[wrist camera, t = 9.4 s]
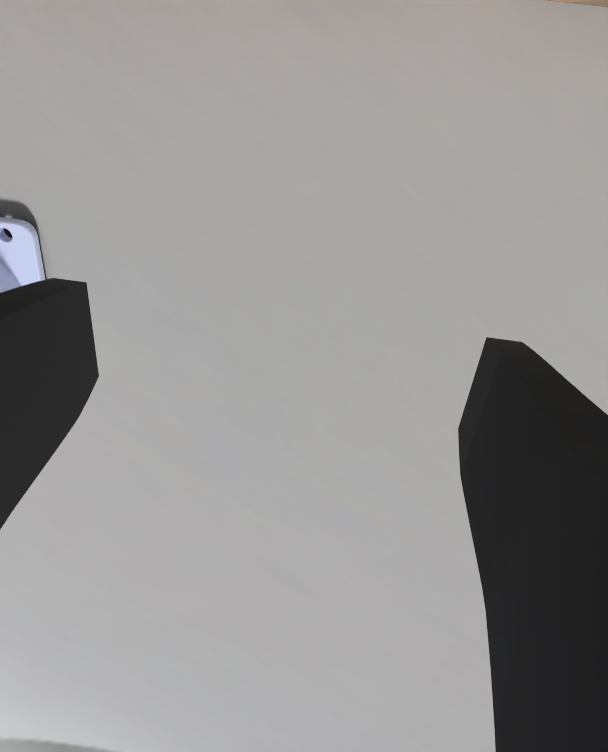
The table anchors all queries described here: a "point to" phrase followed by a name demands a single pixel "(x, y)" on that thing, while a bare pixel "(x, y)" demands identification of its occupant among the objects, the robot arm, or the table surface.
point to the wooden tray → (587, 2)
